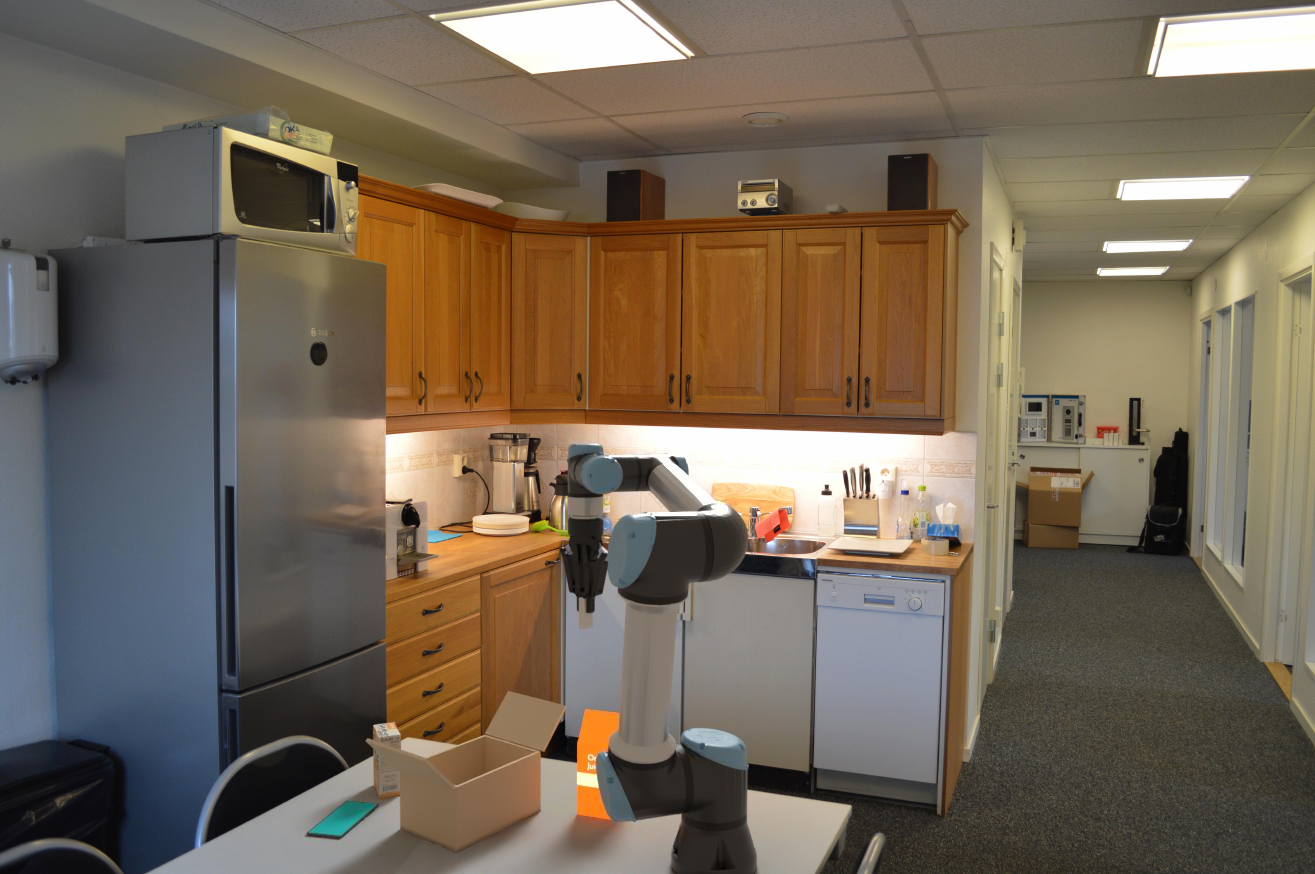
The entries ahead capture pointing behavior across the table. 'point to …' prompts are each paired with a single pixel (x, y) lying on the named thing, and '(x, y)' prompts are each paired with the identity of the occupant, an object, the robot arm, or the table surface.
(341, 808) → the smartphone
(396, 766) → the left flap
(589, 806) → the orange juice
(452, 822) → the carton
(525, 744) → the right flap
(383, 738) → the supplement box
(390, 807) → the table surface
